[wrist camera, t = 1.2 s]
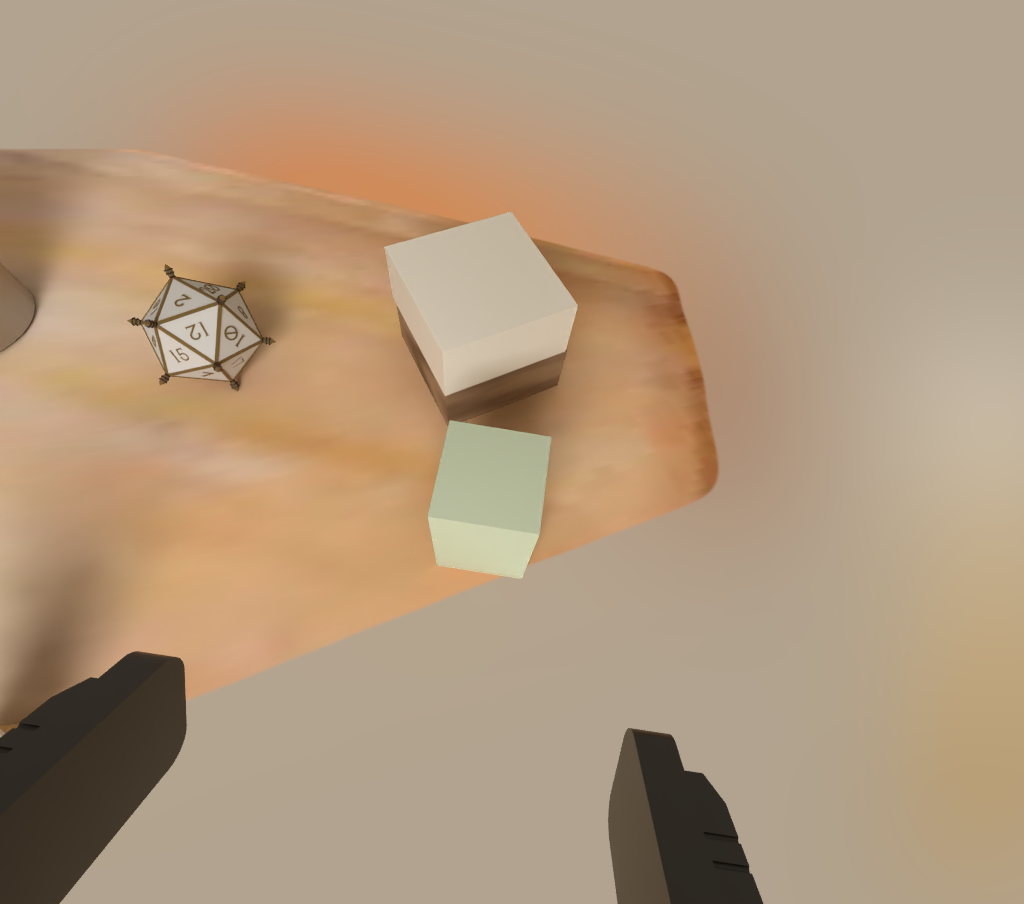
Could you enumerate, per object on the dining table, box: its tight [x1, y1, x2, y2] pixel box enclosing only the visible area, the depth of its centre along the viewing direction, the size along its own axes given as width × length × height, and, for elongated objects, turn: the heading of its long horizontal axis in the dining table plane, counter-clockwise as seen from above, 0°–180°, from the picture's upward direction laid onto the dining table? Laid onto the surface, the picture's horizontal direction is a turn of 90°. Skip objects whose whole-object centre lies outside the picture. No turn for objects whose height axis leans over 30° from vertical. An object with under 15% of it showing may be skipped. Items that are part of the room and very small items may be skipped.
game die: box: [127, 264, 275, 391], centre depth 39 cm, size 9×8×10 cm
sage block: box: [428, 420, 551, 579], centre depth 33 cm, size 6×6×10 cm
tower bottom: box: [397, 306, 567, 425], centre depth 43 cm, size 10×10×5 cm
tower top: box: [385, 212, 578, 396], centre depth 38 cm, size 10×10×5 cm
